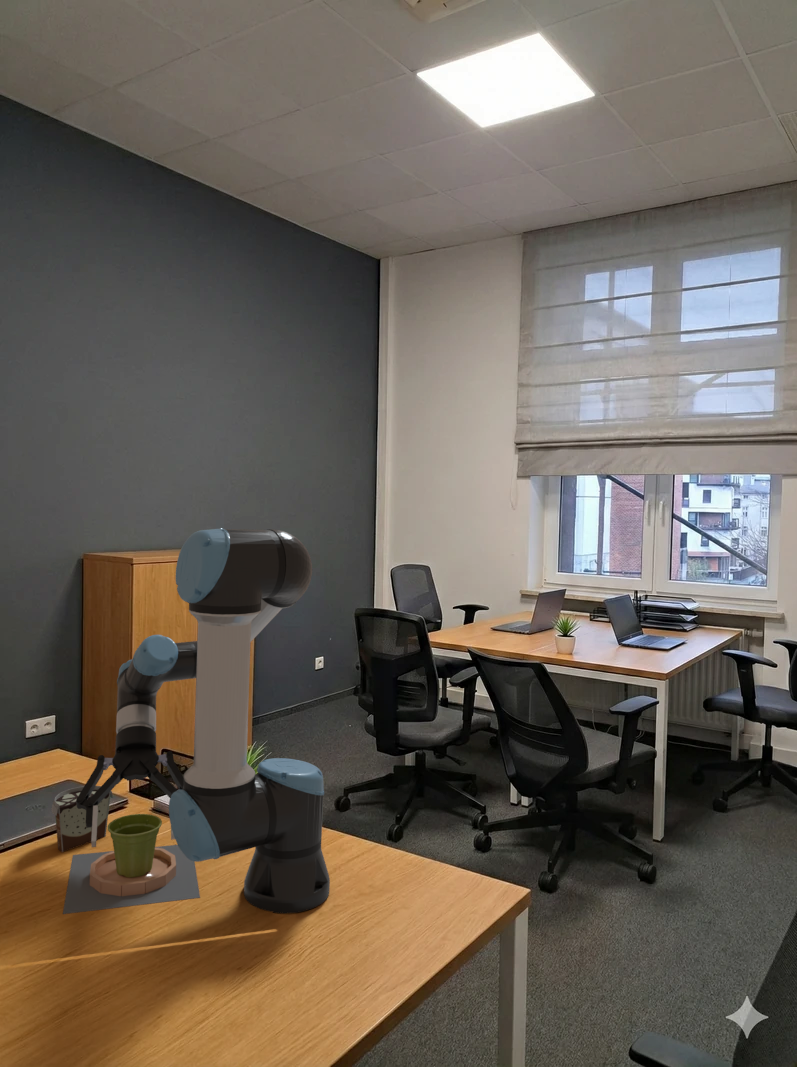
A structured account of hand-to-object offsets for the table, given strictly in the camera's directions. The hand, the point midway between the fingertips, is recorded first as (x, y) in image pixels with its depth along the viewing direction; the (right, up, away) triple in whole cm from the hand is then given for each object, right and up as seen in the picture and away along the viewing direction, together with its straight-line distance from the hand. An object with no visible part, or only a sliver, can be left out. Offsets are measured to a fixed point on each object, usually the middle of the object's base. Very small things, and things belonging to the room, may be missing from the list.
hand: (134, 840), depth 141 cm
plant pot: (-1, -6, +2) cm, 7 cm away
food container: (-17, -7, +16) cm, 24 cm away
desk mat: (-1, -8, +2) cm, 8 cm away
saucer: (-1, -7, +2) cm, 7 cm away
